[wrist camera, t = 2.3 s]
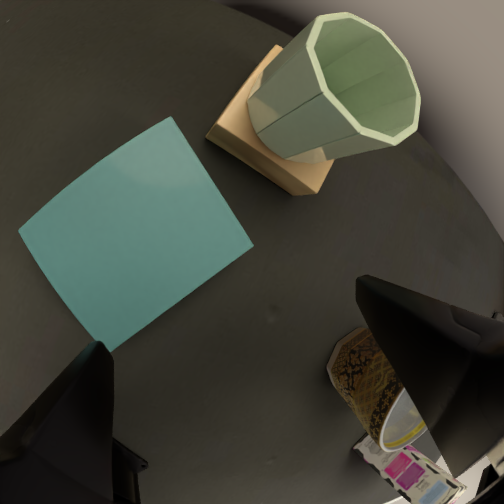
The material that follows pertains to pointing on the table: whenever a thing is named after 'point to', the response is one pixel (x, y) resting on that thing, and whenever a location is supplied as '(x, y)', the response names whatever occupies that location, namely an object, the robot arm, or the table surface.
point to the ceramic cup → (374, 391)
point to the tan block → (255, 151)
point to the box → (134, 234)
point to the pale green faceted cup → (335, 93)
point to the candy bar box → (411, 473)
